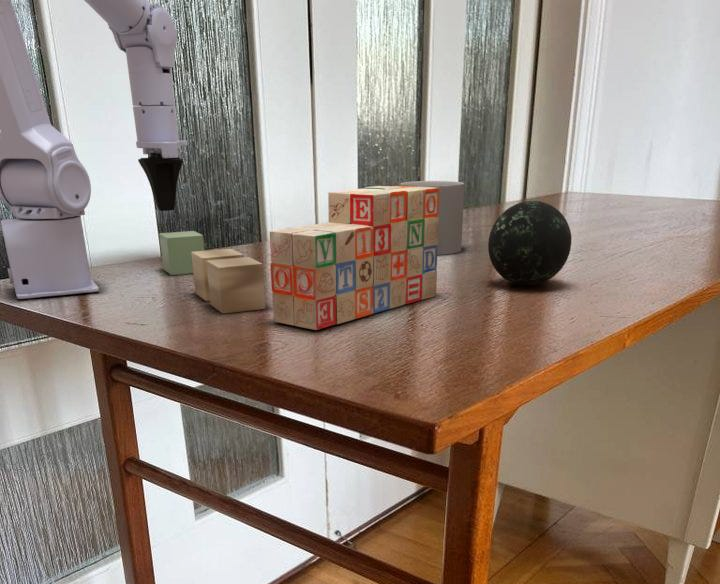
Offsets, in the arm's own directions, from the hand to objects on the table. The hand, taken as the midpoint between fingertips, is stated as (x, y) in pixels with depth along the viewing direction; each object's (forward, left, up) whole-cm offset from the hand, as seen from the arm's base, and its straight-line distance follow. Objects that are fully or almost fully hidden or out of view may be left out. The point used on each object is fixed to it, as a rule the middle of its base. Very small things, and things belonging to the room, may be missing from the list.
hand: (166, 210), depth 110 cm
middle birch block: (0, -27, -7) cm, 28 cm away
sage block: (0, -8, -7) cm, 11 cm away
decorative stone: (+36, -39, -8) cm, 54 cm away
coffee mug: (+41, -8, -8) cm, 42 cm away
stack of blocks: (+12, -41, -8) cm, 43 cm away
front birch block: (0, -34, -7) cm, 34 cm away
